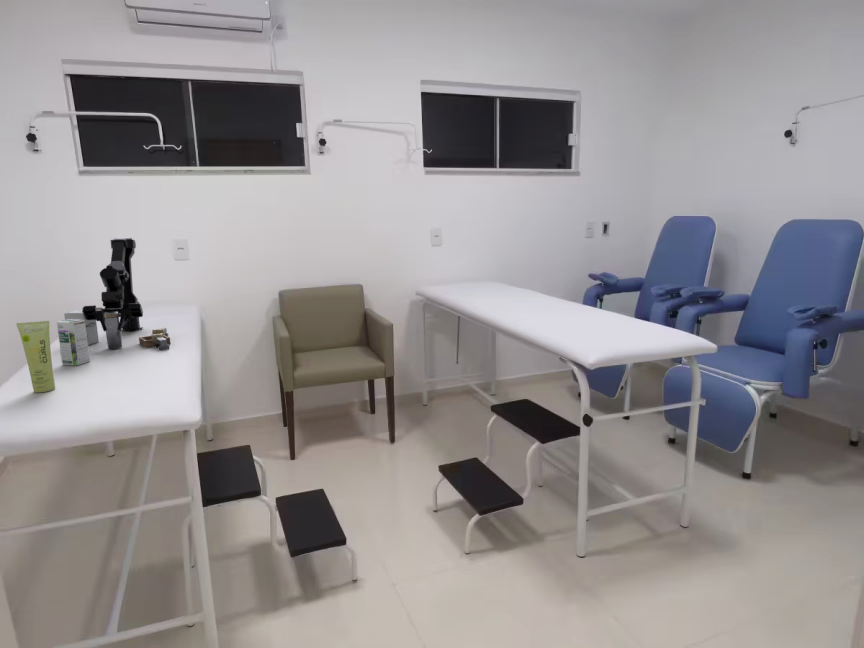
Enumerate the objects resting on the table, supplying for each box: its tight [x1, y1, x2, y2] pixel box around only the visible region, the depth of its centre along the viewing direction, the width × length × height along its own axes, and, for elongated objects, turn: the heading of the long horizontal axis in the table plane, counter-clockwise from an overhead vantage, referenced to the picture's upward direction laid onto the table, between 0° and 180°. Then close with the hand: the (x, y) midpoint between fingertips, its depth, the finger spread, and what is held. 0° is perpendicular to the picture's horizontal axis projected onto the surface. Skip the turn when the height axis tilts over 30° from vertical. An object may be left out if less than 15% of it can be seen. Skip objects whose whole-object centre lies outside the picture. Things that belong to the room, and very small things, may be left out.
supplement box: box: [63, 309, 100, 346], centre depth 203 cm, size 7×7×13 cm
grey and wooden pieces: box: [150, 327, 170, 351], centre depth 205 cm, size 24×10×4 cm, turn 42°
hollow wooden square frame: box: [138, 334, 171, 348], centre depth 203 cm, size 9×9×2 cm
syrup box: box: [56, 319, 91, 367], centre depth 176 cm, size 6×6×14 cm
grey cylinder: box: [103, 311, 123, 350], centre depth 196 cm, size 5×5×13 cm
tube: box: [15, 320, 56, 393], centre depth 148 cm, size 6×5×20 cm
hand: (112, 330), depth 195 cm, fingers closed on grey cylinder, 5 cm apart
